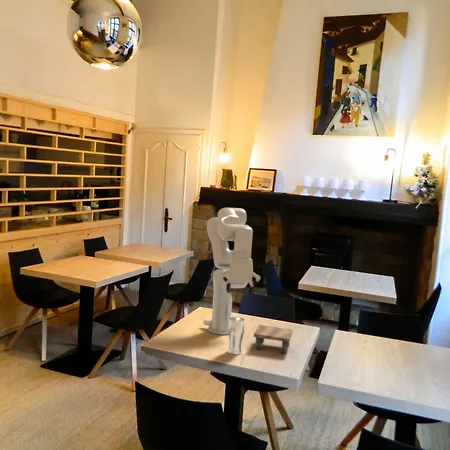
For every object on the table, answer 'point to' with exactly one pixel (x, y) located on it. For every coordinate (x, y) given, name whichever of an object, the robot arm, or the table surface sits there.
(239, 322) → the beer glass
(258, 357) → the table surface
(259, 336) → the peg shelf
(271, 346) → the table surface
